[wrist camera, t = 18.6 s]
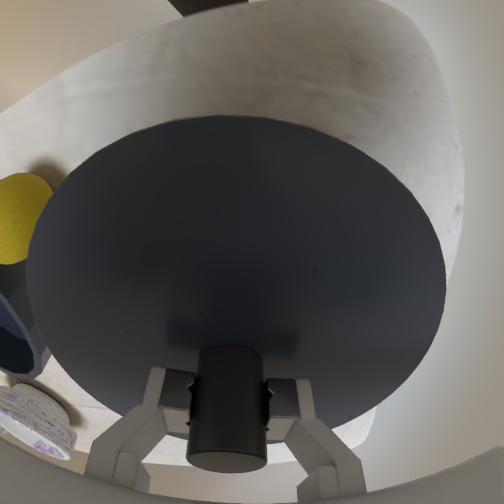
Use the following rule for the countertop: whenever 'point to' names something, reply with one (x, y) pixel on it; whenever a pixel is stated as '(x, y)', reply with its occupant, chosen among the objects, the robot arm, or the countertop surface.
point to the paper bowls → (37, 420)
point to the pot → (19, 326)
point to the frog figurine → (2, 430)
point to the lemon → (20, 213)
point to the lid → (236, 275)
